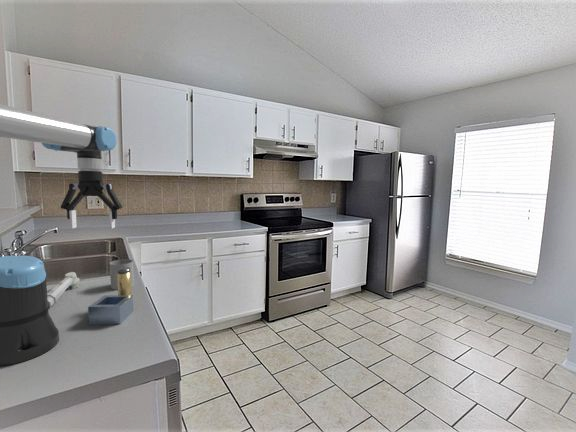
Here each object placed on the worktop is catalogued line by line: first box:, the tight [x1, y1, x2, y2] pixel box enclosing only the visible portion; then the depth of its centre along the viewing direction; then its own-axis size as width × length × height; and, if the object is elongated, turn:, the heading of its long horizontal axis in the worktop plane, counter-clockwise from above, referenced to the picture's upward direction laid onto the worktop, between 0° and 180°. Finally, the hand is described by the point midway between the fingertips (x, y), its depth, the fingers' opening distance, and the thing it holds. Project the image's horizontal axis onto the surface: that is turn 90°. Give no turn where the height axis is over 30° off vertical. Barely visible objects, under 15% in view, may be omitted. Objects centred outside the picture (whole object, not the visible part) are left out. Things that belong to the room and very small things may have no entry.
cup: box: [109, 258, 135, 291], centre depth 123 cm, size 8×8×10 cm
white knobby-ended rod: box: [47, 271, 81, 310], centre depth 112 cm, size 5×7×25 cm
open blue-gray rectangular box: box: [87, 294, 134, 326], centre depth 95 cm, size 9×9×6 cm
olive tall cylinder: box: [117, 267, 133, 295], centre depth 104 cm, size 4×4×13 cm
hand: (93, 228), depth 113 cm, fingers open, 13 cm apart
